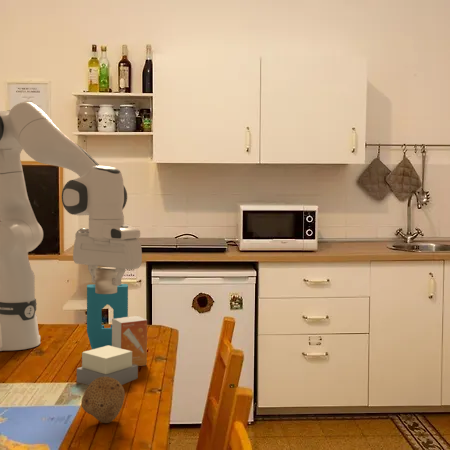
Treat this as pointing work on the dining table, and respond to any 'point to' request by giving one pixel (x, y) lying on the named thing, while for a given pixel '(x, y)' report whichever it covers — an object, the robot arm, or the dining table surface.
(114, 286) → the beige rounded cylinder
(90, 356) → the tower top
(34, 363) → the dining table surface
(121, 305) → the block
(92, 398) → the natural sponge
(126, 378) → the tower base
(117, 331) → the small box
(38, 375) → the dining table surface
